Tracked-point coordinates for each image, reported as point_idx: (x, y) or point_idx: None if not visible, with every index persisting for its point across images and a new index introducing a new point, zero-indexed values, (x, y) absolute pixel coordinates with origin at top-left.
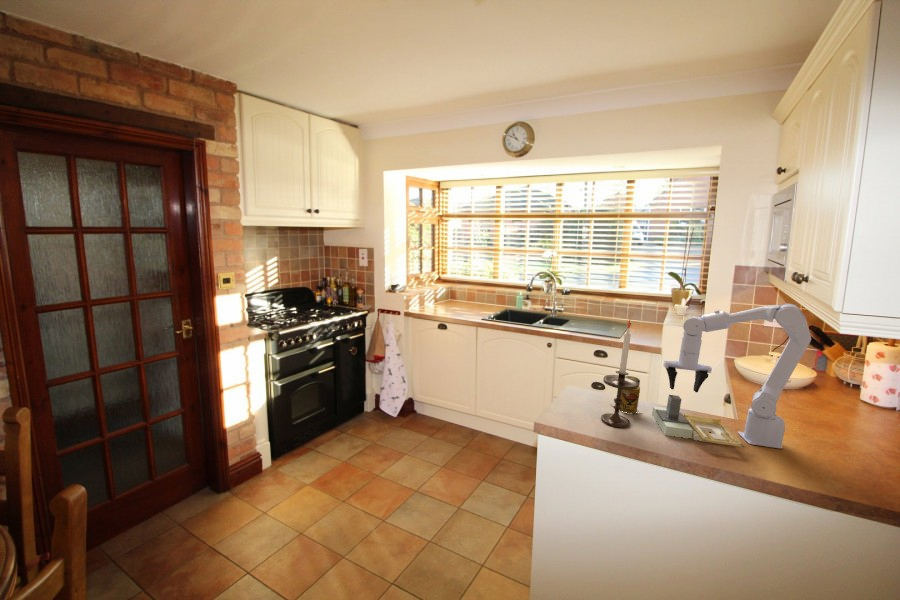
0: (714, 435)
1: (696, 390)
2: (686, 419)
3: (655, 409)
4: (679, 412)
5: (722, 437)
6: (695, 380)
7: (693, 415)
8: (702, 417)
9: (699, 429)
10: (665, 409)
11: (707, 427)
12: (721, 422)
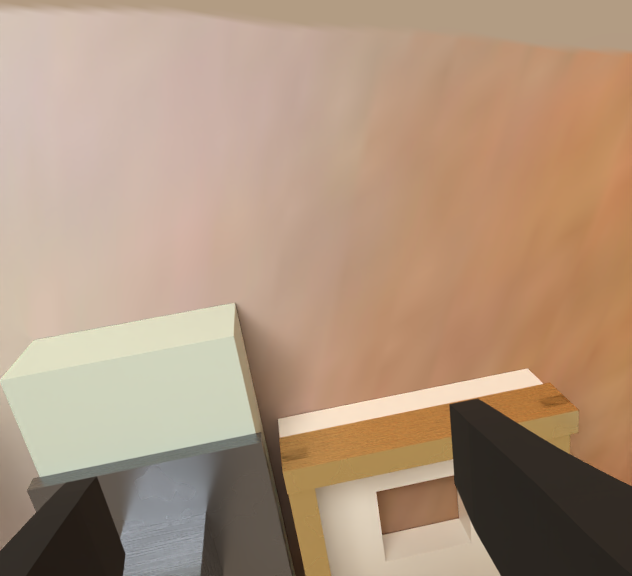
0: (449, 569)
1: (473, 514)
2: (287, 560)
3: (29, 446)
4: (247, 446)
5: (491, 570)
6: (550, 521)
7: (362, 465)
8: (432, 462)
9: (372, 533)
10: (125, 393)
11: (442, 468)
12: (566, 445)
